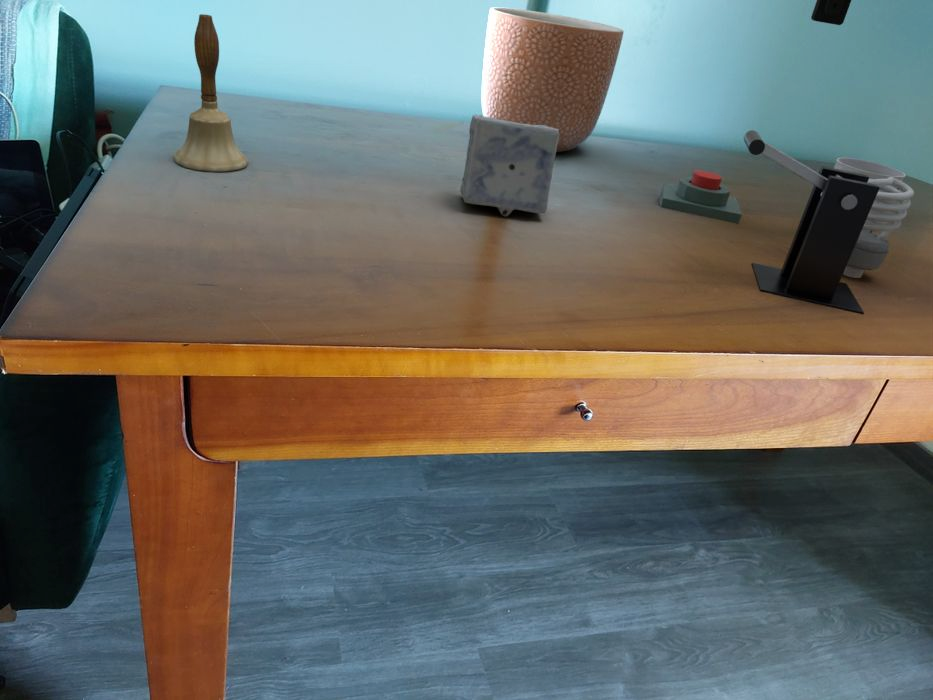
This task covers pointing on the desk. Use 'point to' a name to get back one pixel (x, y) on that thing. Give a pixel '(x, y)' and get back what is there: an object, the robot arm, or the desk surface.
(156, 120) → the desk surface
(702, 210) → the button box
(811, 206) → the bracket
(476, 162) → the incense holder
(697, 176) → the button
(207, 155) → the hand bell
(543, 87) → the planter
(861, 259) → the light bulb
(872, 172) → the cup
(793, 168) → the lever
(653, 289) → the desk surface
